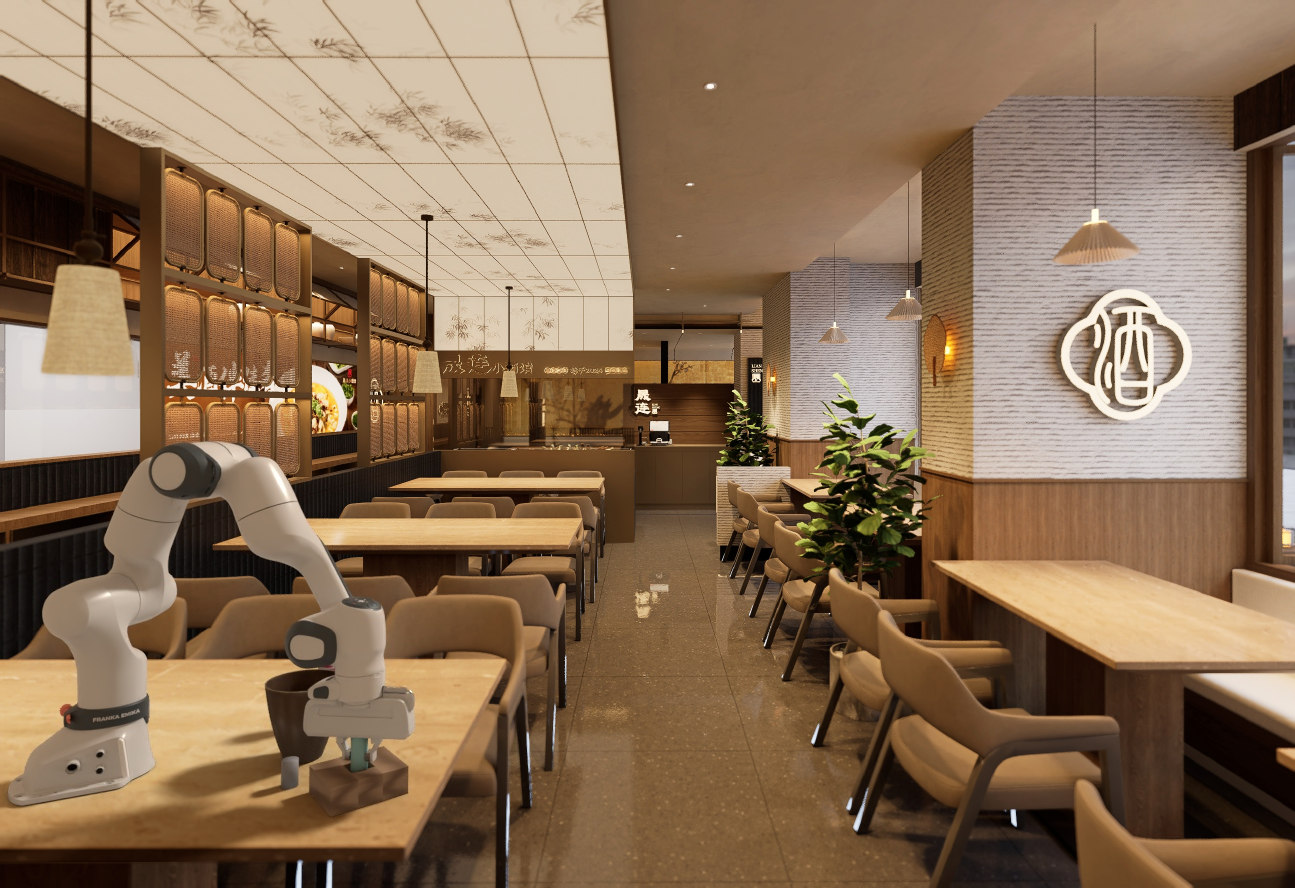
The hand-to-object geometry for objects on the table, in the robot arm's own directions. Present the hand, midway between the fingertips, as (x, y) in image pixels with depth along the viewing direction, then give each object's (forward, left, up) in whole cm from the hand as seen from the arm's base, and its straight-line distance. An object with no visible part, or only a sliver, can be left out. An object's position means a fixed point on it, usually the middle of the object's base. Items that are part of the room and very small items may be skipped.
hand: (359, 759), depth 137 cm
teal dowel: (0, 0, -5) cm, 5 cm away
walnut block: (0, 0, -6) cm, 6 cm away
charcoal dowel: (-9, +11, -6) cm, 16 cm away
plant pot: (-3, +23, -6) cm, 24 cm away
